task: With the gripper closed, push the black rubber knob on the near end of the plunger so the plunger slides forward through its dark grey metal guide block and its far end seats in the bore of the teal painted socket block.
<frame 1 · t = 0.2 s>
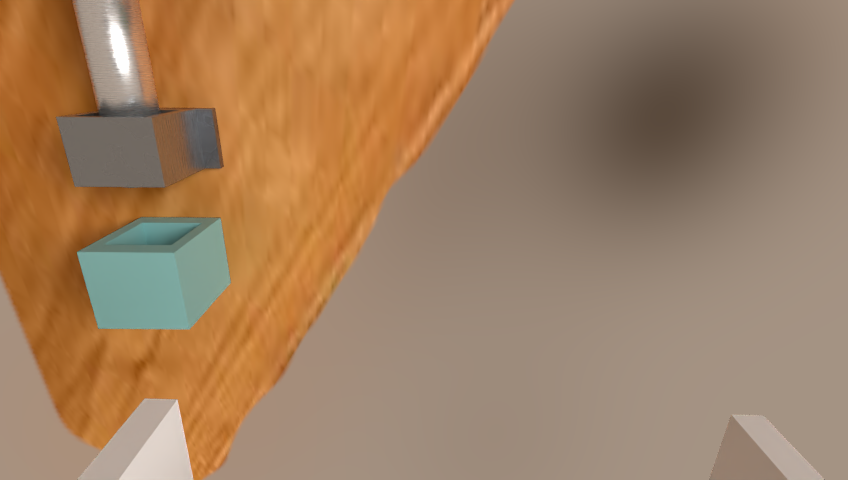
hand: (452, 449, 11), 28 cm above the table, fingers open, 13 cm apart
guide: (165, 137, 36), on the table
plunger: (118, 58, 30), point 4 cm above the table, slide at 0.0 cm
socket: (187, 250, 39), on the table
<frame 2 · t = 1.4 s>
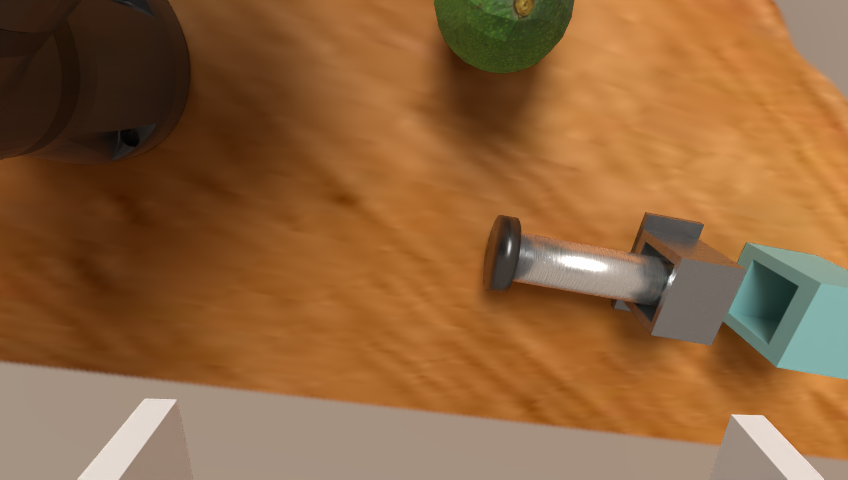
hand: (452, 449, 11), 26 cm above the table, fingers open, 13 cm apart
guide: (654, 265, 38), on the table
fruit: (491, 10, 32), on the table
plunger: (602, 272, 34), point 4 cm above the table, slide at 0.0 cm
socket: (764, 285, 38), on the table
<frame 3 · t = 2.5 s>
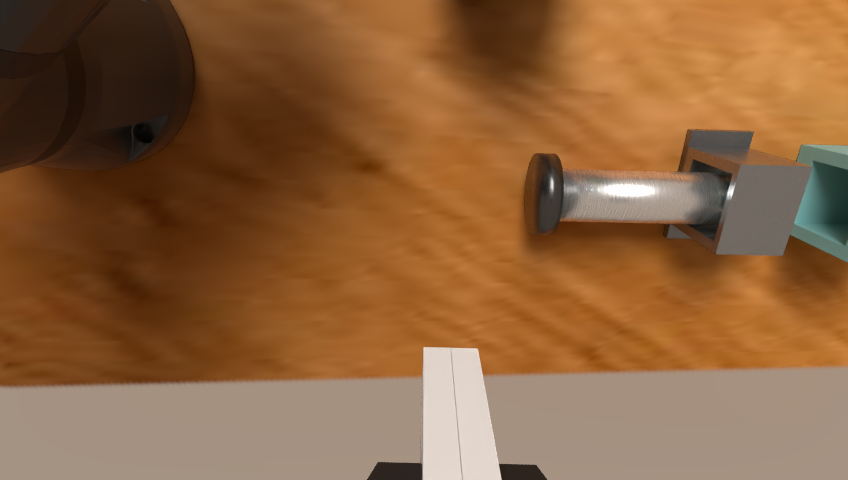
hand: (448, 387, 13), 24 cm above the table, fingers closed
guide: (703, 185, 36), on the table
plunger: (652, 197, 32), point 4 cm above the table, slide at 0.0 cm
socket: (826, 188, 36), on the table
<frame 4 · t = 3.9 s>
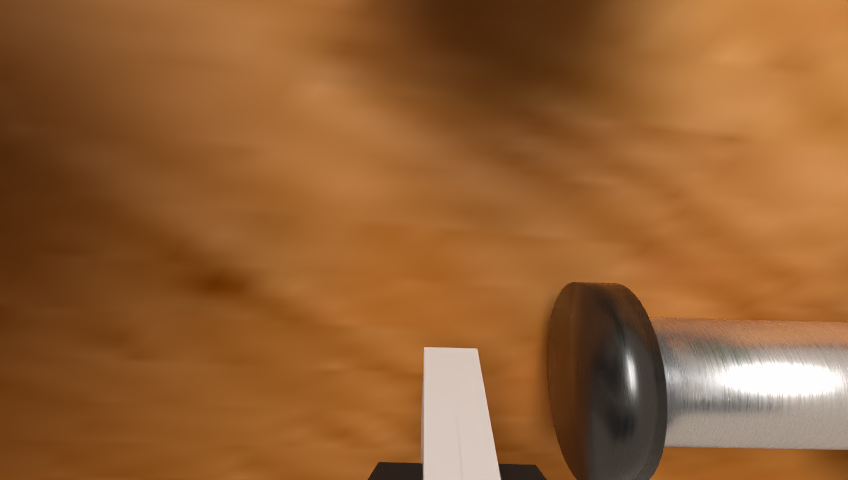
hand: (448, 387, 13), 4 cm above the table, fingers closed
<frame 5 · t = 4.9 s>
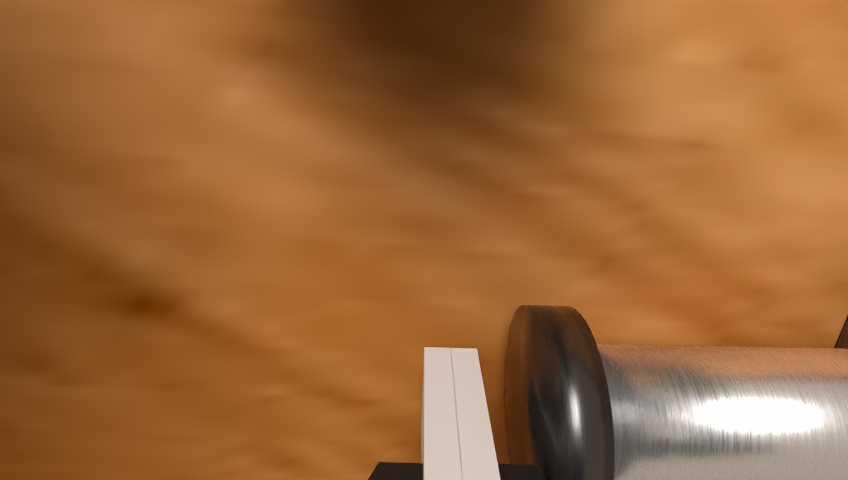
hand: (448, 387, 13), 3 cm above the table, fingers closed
plunger: (834, 417, 12), point 4 cm above the table, slide at 0.2 cm, touching gripper
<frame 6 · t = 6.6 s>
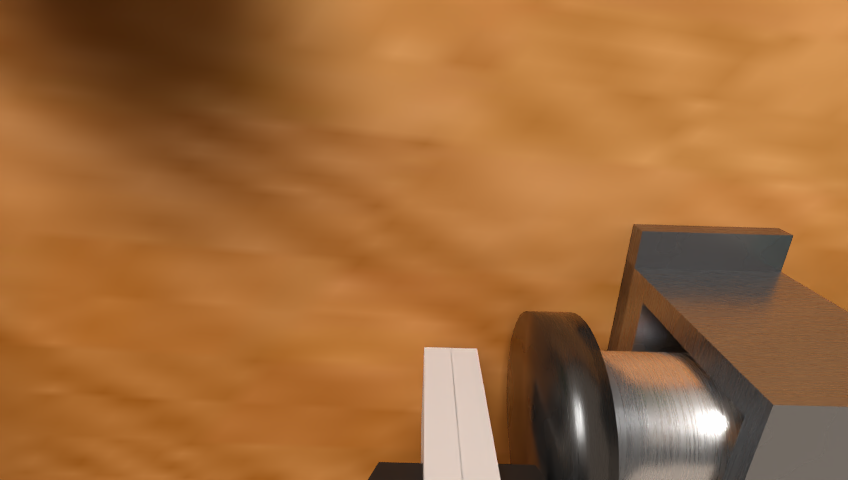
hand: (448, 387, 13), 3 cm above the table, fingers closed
guide: (675, 342, 16), on the table
plunger: (839, 426, 12), point 4 cm above the table, slide at 8.2 cm, touching gripper
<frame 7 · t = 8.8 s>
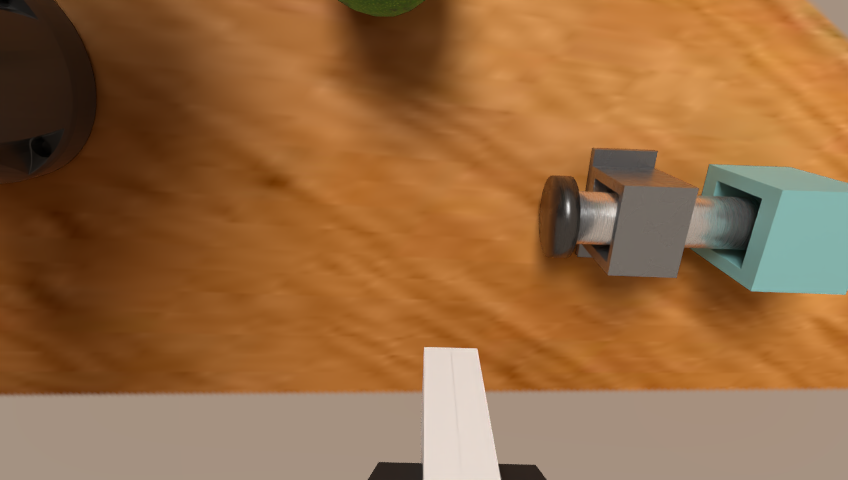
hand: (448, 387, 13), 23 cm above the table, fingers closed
guide: (612, 204, 35), on the table
plunger: (669, 220, 32), point 4 cm above the table, slide at 8.3 cm
socket: (737, 208, 35), on the table
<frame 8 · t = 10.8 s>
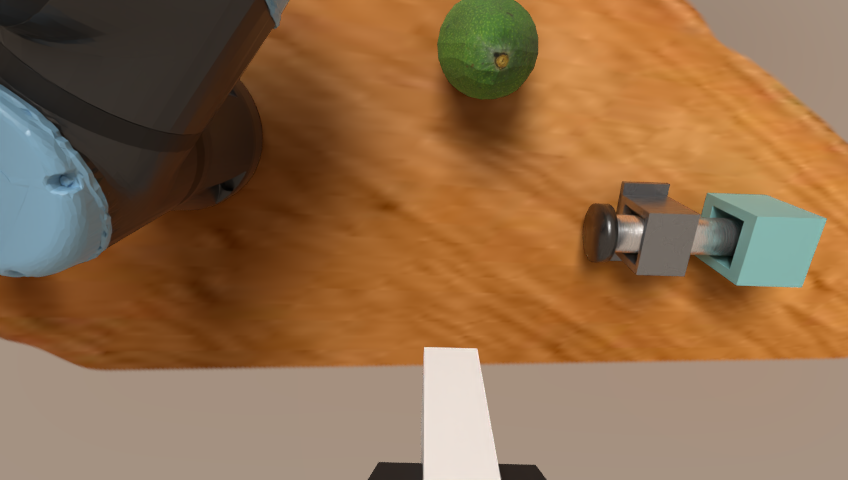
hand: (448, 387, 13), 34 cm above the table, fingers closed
guide: (636, 221, 48), on the table
fruit: (479, 49, 42), on the table
plunger: (679, 235, 44), point 4 cm above the table, slide at 8.3 cm
socket: (727, 224, 48), on the table
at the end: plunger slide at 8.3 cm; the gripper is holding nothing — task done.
